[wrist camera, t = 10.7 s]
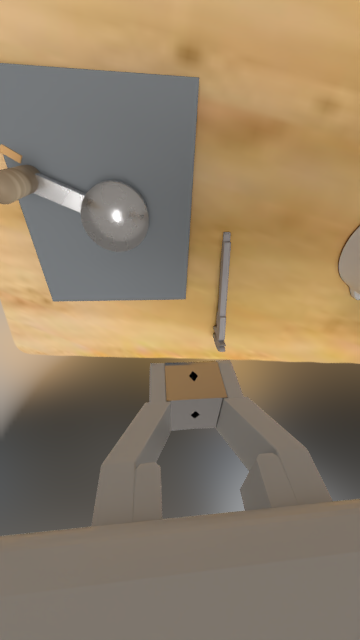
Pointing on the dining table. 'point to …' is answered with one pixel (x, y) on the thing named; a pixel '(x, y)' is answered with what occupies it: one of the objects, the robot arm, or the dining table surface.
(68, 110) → the base plate
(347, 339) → the dining table surface
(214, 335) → the caliper
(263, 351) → the dining table surface
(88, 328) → the dining table surface
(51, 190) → the wooden knob lever
